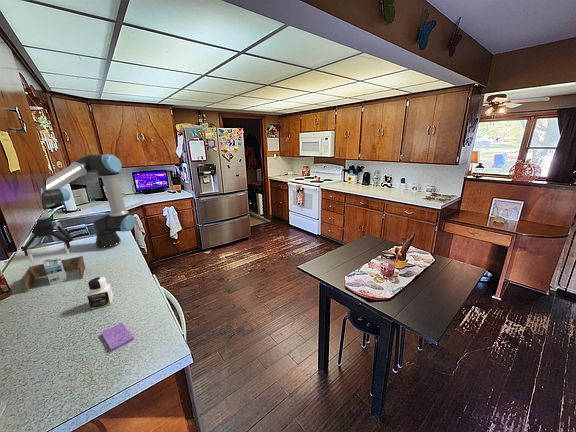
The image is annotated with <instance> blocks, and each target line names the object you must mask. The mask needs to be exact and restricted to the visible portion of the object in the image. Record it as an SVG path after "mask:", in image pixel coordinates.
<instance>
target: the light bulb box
mask: <svg viewBox="0 0 576 432" xmlns="http://www.w3.org/2000/svg"><path fill="white" fill-rule="evenodd" d="M61 260H62V259H61V256H57V257H54V258H53V257H52V258H47V259H43V264H44V267H45V270H46V273H47V276H46V277H47V279H48V283H49V285H50V286H51V285H54V284H58V283H61V282H65V281H67V280H68V278H67V274H66V272H65V270H64V267H63V264H62V261H61Z"/></svg>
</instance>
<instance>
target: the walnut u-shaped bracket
mask: <svg viewBox="0 0 576 432" xmlns="http://www.w3.org/2000/svg"><path fill="white" fill-rule="evenodd" d="M61 261H62V264H63V267H64V270H65V273H66V272H69V271H75V270H77V272H78V275H79V276H78V277H79V279H80V280H83V279H84V274H85V269H86V264H85V260H84V257H83V256H82V255H80V256H76V257H71V258H65V259H61ZM39 277H40V278H44V277H47V273H46V270H45V267H44V263H41V264H36V265H30V266H29V267H28V269H27V270H26V271H25V272H24V275H23V276H22V277H21V278H20V282H21V286H22V289H23V291H24V293H28V292H29V291H30V289H31V287H32V286H33V284H34V283H35V281H36V279H38V278H39ZM40 278H39V279H40ZM34 280H35V281H34ZM31 285H32V286H31Z"/></svg>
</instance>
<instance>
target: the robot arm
mask: <svg viewBox="0 0 576 432" xmlns="http://www.w3.org/2000/svg"><path fill="white" fill-rule="evenodd" d="M122 165H123V164H122V162H121V160H120V159H119V158H118V157H117V156H116V155H113V154H107V153H106V154H87V155H84V156H82V157H80V158H77V159H76V160H74V161H72V162H71V163H70V165H69V166H68V167H65V168H64V169H62V170H59V171H58V172H56V173H55V174H53V175H51V176H50V177H48V178H46V179H47V180H46V179H45V180H46V189H45V190H43V189H42V188H41V194H42V205H43V209H44V210H43V211H44V212H43V214H42V215H41V217H40V219H39V221H38V222H37V224H36V226H35V227H34V229H33V231H32V233H31V234H33V236H32V237H31V238H30V239H29V241H28V242H27V243H26V244H25V246H24V245H23V246H22V247H21V249H20V250H22V251H23V252H24V256H25V257H27V256H28V259H29V262H30V263H32V262H34V256H33V253H32V249H31V247H30V246H31V244H33V242H34V241H35V240H36V239H37V237H38V238H42V237H49V236H52V237H54V238H56V239H58V240H59V241H61V242H64V243H63V245H64V246H63V247H64V249H65V253H66V256H69V255H70V250H69V249H70V248H71V244H70V242H73V240H74V237H72V236H71V235H70V234H69V233H68V231H66V230H65V229H63V227H62V225H61V224H58V225H56V226H54V225H53V223H52V219H51V217H50V216H51V215H50V211H49V208H48V205H49V206H50V205H55V204H58V203H64V202H68V201H69V200H70V199H71V192H70V191H69V190H68V189H67V188H64V187H65V186H66V185H68V184H70V183H71V182H73V181H75V180H77V179H78V178H80V177H81V176H82V177H83V176H86V175H87V174H88V175H89V174H92V173H97V176H98V177H99V178H101V180H102V184H103V187H104V190H105V194H106V198H107V201H108V205H109V209H110V212H105V213H104V212H103V213H100V214H96V215H94V216H92V223H93V226H94V231H95V235H96V238H95V242H94V244H95V247H96V246H97V247H96V248H98V247H104V246H110V245H114V244H116V243H119V242H120V241H121V242H122V240H121V237H120V236H119V234H118V233H117V232H123V233H124V232H130V231H132V230H133V229H134V227H135V224H136V219H135V216H133V215H131V214H130V212H129V211H128V210H127V209H126V205H125V202H124V201H125V200H124V198H123V193H122V190H121V185H120V183H119V182H120V181H119V175H120V171H122V167H123V166H122ZM54 230H57V231H58V232H59V233H61V234H59V233H57V232H55V231H54ZM62 235H63V236H64V237H63V236H62ZM119 244H120V243H119ZM20 250H19V251H20Z"/></svg>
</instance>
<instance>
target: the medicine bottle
mask: <svg viewBox="0 0 576 432" xmlns="http://www.w3.org/2000/svg"><path fill="white" fill-rule="evenodd" d="M87 285H88V288H89V291H88V293H87V294H86V295H87V301H88V304H89V305H88V306H89V308H90V310H95V309H100V308H102V307H106V306H110V305H112V301H113V298H114V294H113V289H112V285H111V283H107V279H106V277H104V276H98V277H95V278H92V279H90V280H89V281H88V283H87Z"/></svg>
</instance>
